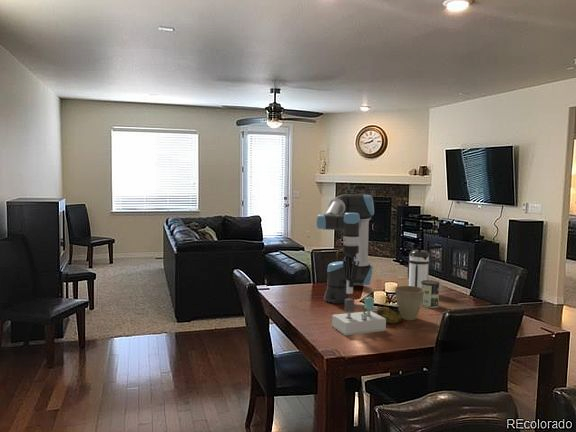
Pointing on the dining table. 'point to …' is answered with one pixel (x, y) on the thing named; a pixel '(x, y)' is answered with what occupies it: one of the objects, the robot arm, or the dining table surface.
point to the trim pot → (364, 316)
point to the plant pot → (409, 301)
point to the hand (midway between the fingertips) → (349, 293)
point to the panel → (358, 323)
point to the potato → (389, 315)
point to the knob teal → (369, 304)
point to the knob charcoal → (349, 307)
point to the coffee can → (430, 293)
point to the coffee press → (418, 267)
